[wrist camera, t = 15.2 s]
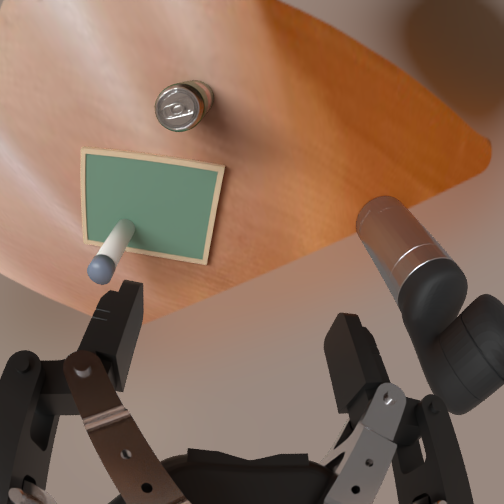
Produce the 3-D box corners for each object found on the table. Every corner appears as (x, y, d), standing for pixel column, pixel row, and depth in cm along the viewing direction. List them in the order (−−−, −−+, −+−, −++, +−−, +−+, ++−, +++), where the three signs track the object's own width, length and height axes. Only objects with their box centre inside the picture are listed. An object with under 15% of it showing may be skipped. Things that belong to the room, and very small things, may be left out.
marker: (136, 219, 45) (110, 265, 35) (135, 238, 47) (111, 286, 37) (116, 216, 45) (86, 261, 35) (116, 235, 47) (88, 281, 37)
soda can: (218, 109, 38) (210, 123, 28) (183, 121, 38) (162, 141, 28) (207, 74, 35) (193, 76, 25) (170, 88, 36) (144, 95, 26)
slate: (225, 165, 42) (224, 167, 41) (207, 261, 51) (206, 265, 50) (83, 146, 39) (80, 148, 38) (85, 240, 48) (83, 243, 47)
